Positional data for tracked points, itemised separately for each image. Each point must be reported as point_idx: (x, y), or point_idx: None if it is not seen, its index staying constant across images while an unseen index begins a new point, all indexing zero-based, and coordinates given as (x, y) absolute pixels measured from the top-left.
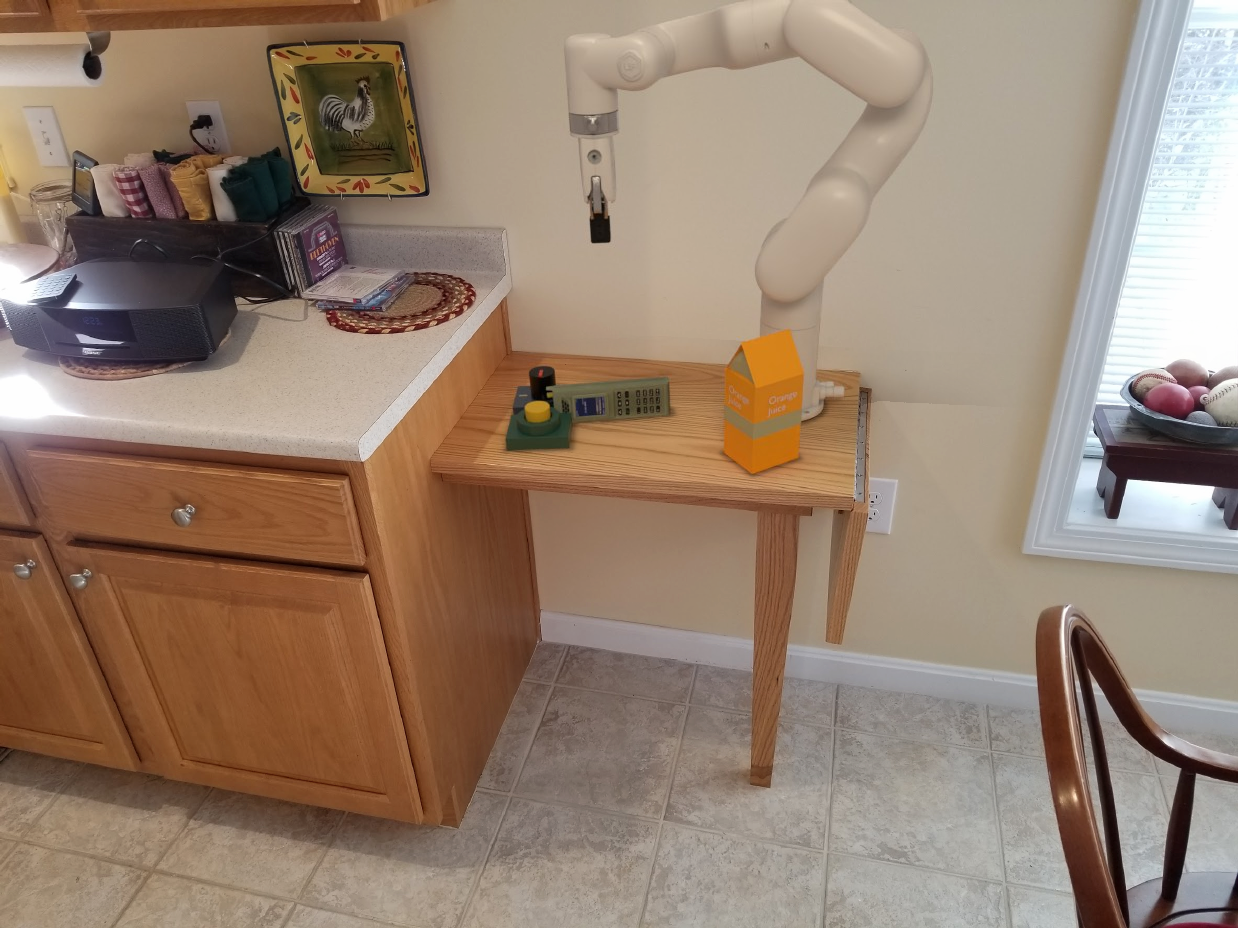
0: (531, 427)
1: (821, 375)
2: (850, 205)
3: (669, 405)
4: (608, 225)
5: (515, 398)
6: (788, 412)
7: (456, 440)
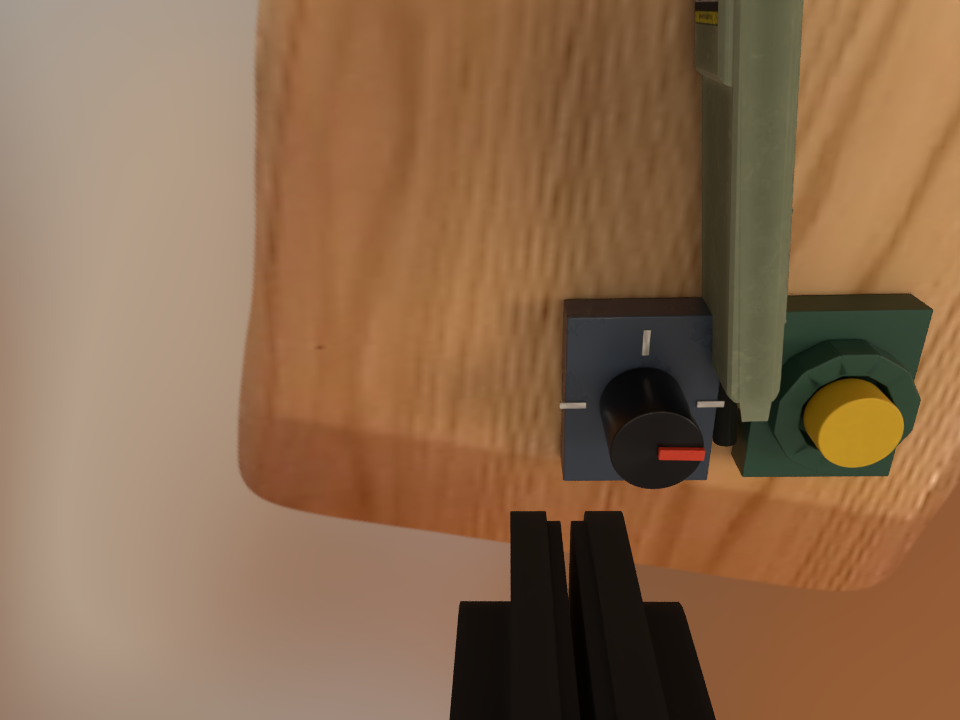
0: (911, 426)
1: None
2: None
3: None
4: (651, 678)
5: None
6: None
7: (778, 569)
